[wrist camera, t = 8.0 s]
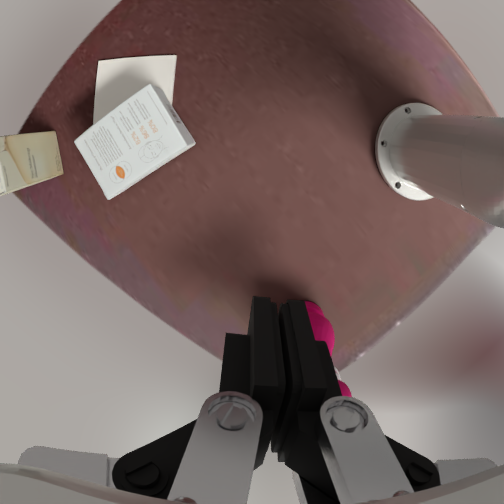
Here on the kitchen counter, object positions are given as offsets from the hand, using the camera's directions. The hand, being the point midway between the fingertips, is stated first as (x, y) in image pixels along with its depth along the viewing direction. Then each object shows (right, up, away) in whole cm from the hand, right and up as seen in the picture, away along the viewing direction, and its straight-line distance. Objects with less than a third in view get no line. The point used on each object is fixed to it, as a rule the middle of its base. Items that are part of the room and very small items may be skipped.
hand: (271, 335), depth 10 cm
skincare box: (-28, +16, +24) cm, 40 cm away
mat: (-15, +20, +22) cm, 34 cm away
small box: (-9, +17, +20) cm, 28 cm away
